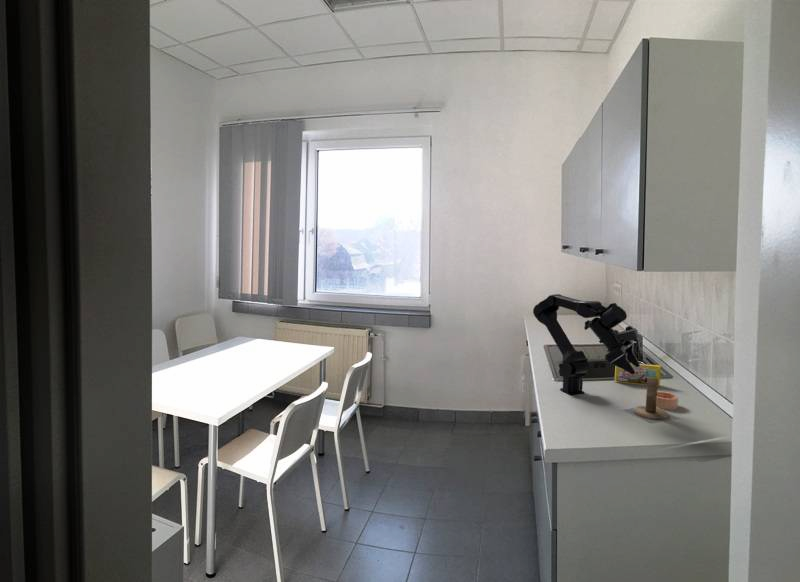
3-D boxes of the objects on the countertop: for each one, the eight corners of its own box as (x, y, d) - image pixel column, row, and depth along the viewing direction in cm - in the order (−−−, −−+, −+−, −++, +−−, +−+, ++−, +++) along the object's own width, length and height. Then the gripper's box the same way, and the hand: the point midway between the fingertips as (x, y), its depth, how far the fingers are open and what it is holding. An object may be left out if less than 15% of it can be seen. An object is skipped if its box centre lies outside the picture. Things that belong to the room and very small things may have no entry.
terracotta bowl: (664, 411, 155) (665, 400, 155) (645, 403, 163) (645, 392, 162) (682, 409, 158) (683, 397, 157) (662, 401, 165) (663, 390, 165)
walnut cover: (651, 421, 146) (653, 384, 145) (626, 410, 155) (628, 375, 154) (675, 417, 149) (677, 381, 148) (650, 407, 158) (652, 373, 157)
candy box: (614, 382, 187) (615, 362, 186) (614, 381, 189) (615, 361, 188) (659, 386, 182) (661, 366, 181) (658, 385, 184) (660, 364, 183)
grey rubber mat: (651, 424, 145) (651, 423, 145) (622, 411, 156) (622, 409, 156) (680, 419, 148) (680, 418, 148) (649, 407, 160) (650, 405, 160)
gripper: (619, 324, 149) (653, 364, 145) (629, 315, 165) (660, 350, 160) (591, 343, 155) (623, 382, 151) (603, 332, 170) (633, 367, 166)
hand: (636, 369), depth 157 cm, fingers open, 9 cm apart
